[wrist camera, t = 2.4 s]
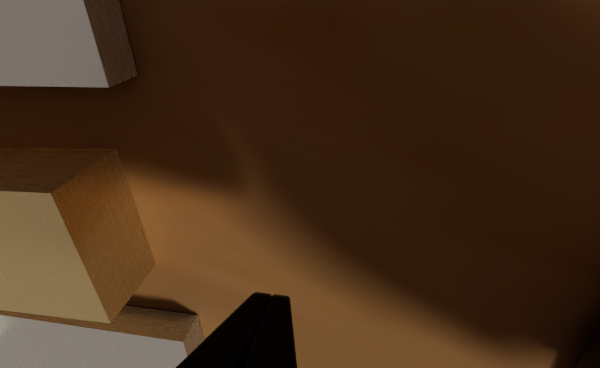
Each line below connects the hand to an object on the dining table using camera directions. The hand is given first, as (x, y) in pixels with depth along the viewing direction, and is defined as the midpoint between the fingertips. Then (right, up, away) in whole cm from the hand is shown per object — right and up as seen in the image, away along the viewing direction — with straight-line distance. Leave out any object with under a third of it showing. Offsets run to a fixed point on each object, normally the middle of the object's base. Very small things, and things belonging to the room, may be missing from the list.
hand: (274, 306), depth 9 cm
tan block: (-7, +2, +4) cm, 8 cm away
